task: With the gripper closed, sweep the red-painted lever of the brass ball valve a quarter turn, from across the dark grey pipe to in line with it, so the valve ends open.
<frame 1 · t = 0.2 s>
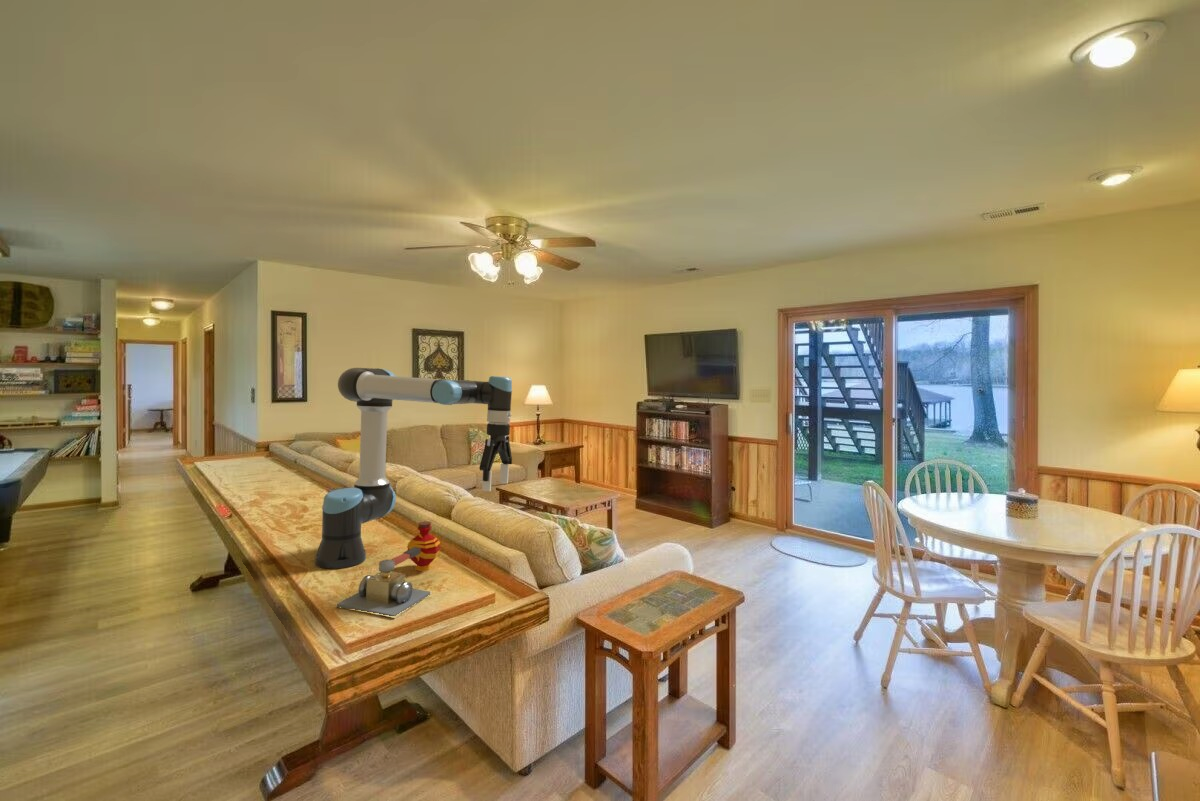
hand: (495, 487, 169), 28 cm above the table, fingers open, 13 cm apart
lever: (400, 558, 148), point 10 cm above the table, hinge at 0.0°
valve body: (385, 600, 143), resting on slate board
slate board: (385, 600, 143), on the table
potion bottle: (422, 568, 168), on the table
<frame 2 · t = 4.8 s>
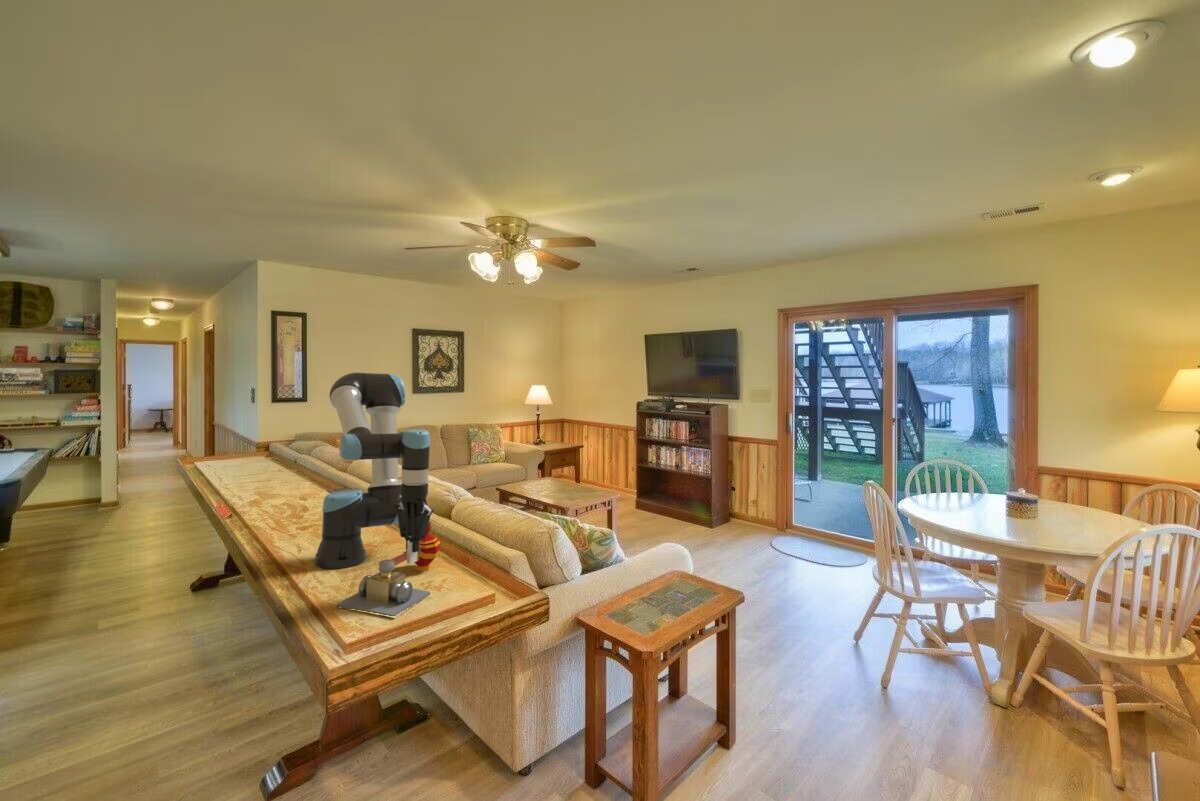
hand: (411, 562, 151), 8 cm above the table, fingers closed
lever: (400, 558, 148), point 10 cm above the table, hinge at 0.1°, touching gripper
everything else where it was.
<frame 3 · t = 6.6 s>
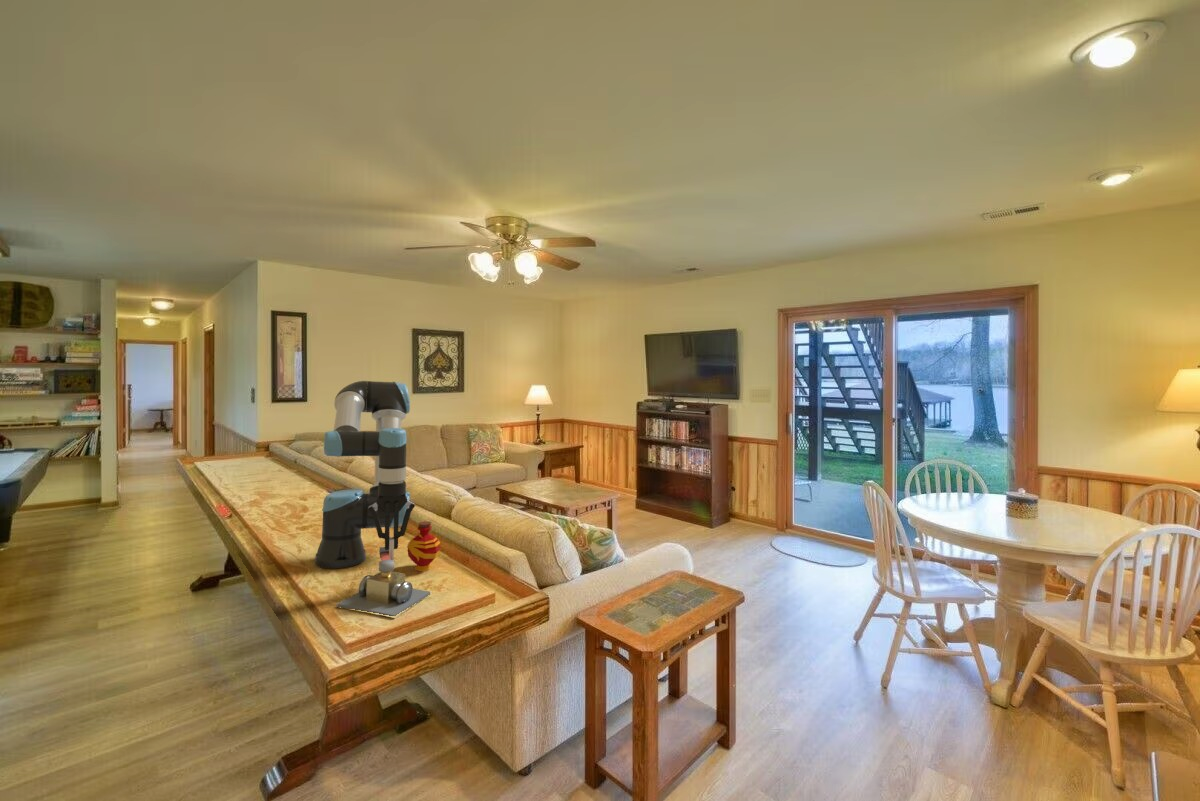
hand: (391, 559, 151), 8 cm above the table, fingers closed
lever: (385, 558, 148), point 10 cm above the table, hinge at 41.2°, touching gripper
everything else where it was.
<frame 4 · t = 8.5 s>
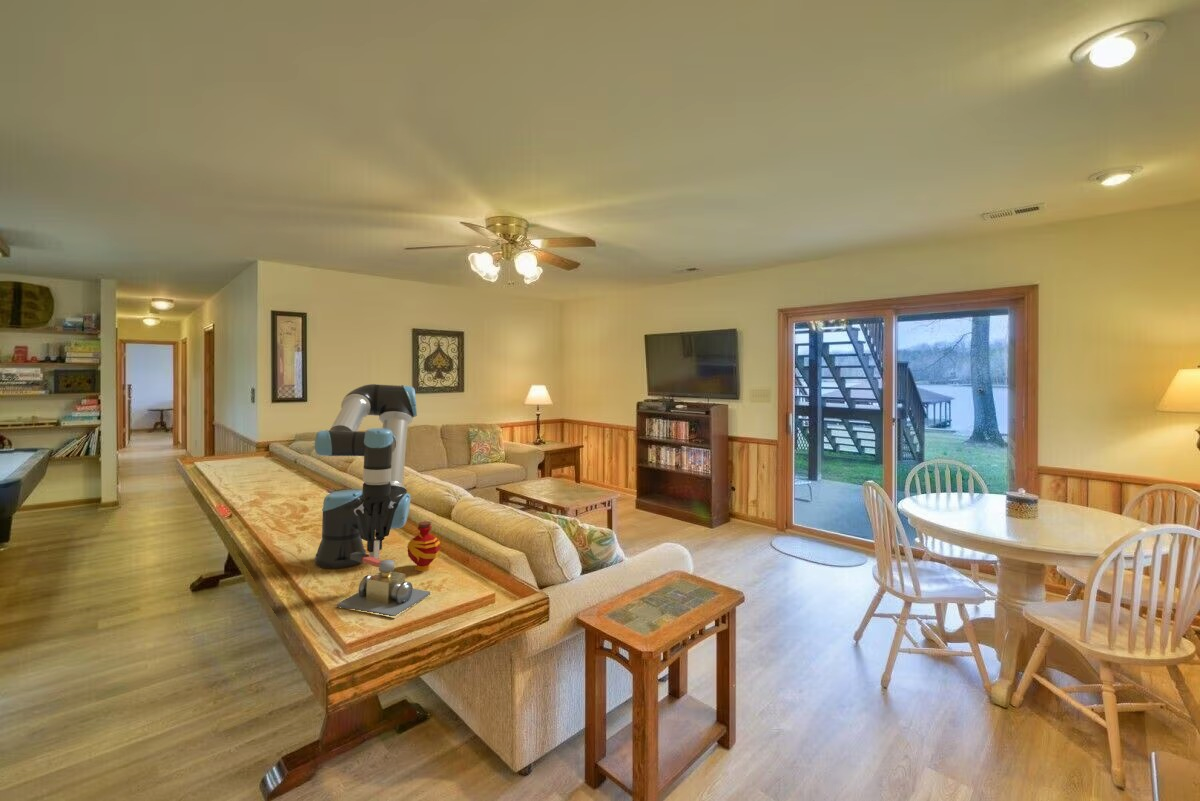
hand: (374, 561, 150), 8 cm above the table, fingers closed
lever: (372, 561, 145), point 10 cm above the table, hinge at 77.0°
everything else where it was.
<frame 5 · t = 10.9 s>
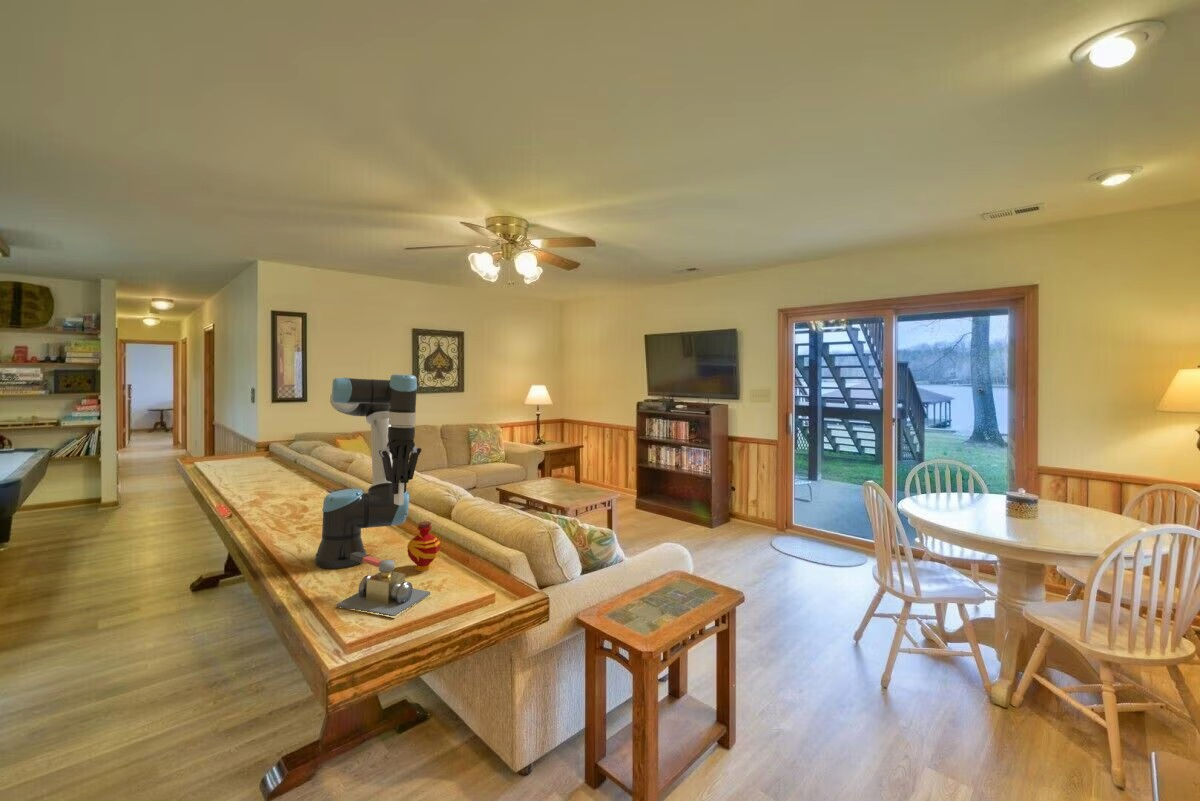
hand: (398, 504, 154), 24 cm above the table, fingers closed
nothing on the table moved.
at the end: lever at +77° (first picture: +0°) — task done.
